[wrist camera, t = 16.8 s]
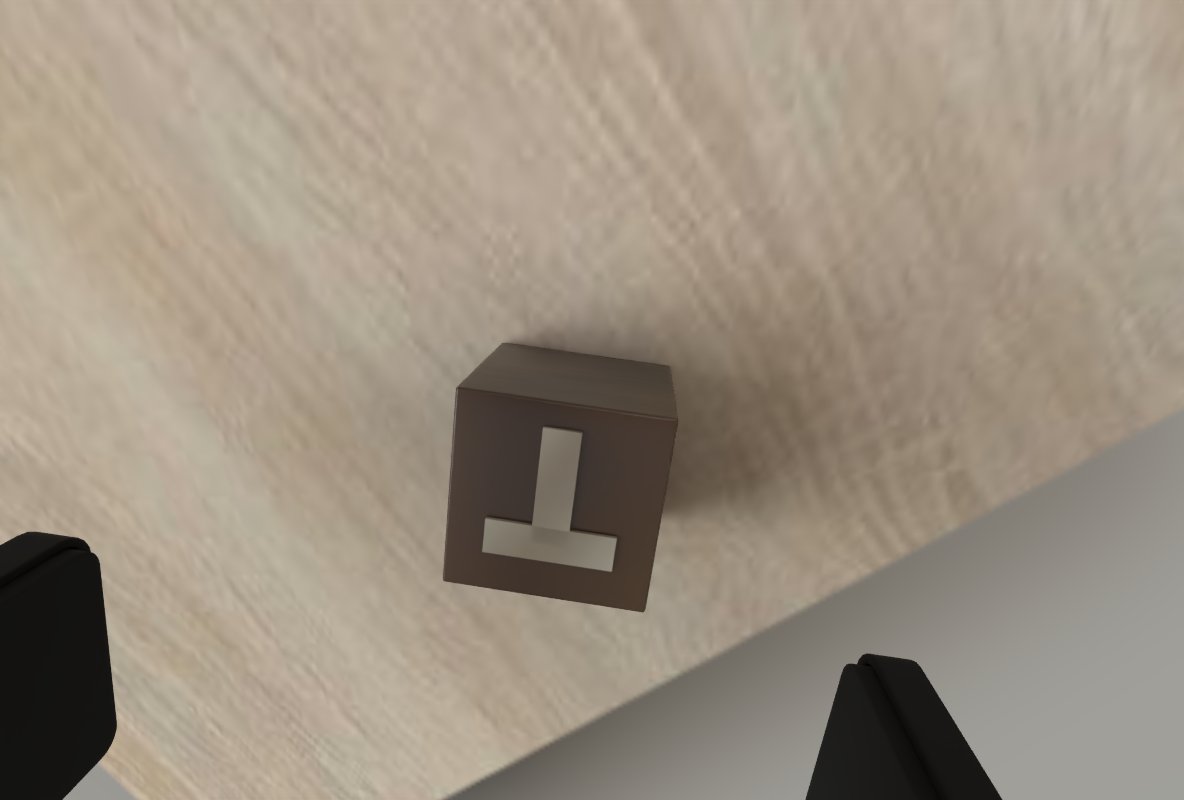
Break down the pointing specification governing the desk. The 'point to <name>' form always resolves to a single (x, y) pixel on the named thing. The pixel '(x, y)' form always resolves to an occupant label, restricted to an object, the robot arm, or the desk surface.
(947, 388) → the desk surface
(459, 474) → the wooden letter block
